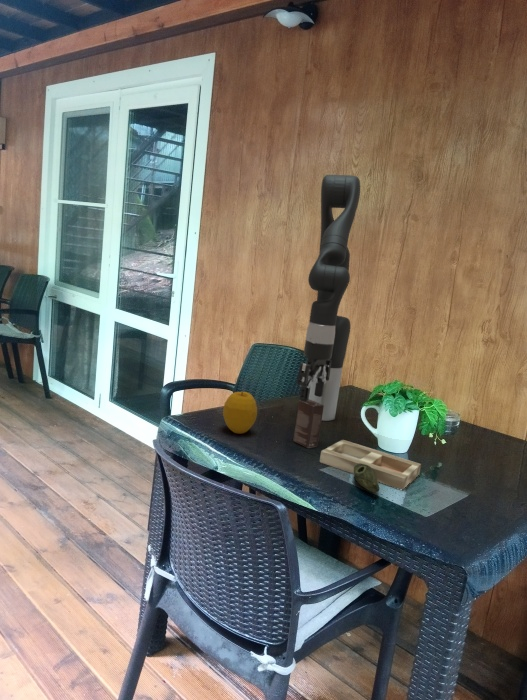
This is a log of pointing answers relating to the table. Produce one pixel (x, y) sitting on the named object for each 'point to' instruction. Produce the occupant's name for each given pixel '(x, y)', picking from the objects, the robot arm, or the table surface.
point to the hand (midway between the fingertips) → (311, 398)
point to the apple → (240, 412)
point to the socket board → (371, 463)
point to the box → (308, 423)
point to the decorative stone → (366, 477)
